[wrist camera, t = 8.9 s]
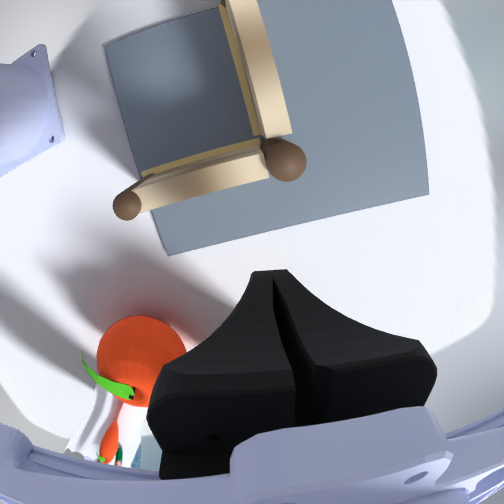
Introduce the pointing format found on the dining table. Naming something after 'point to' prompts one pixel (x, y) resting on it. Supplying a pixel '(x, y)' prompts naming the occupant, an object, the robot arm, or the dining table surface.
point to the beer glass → (109, 432)
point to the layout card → (298, 107)
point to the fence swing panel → (259, 67)
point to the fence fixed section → (212, 176)
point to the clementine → (134, 357)
